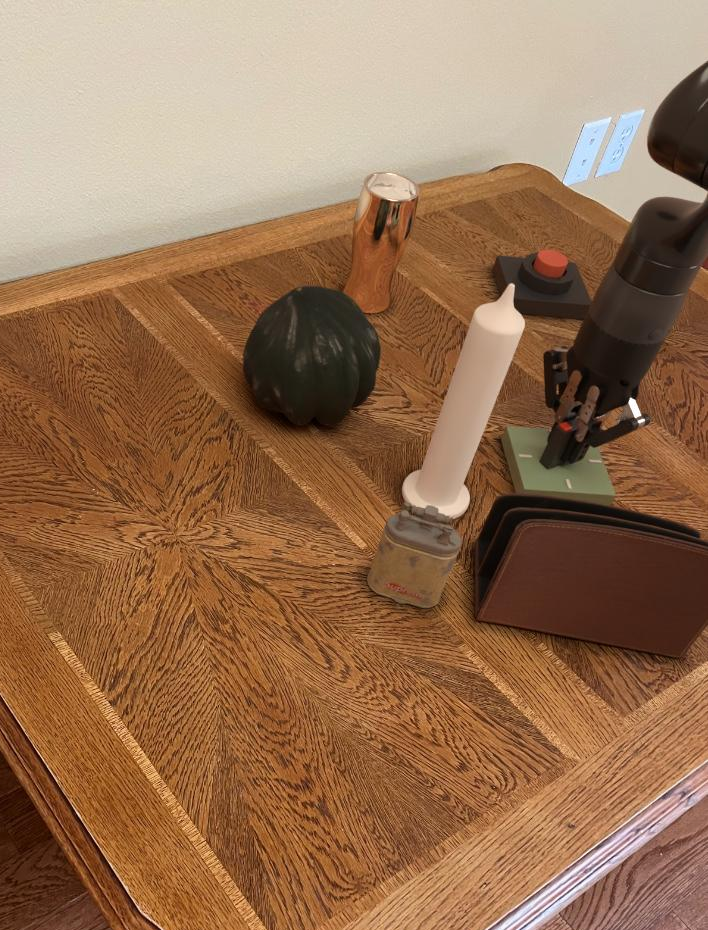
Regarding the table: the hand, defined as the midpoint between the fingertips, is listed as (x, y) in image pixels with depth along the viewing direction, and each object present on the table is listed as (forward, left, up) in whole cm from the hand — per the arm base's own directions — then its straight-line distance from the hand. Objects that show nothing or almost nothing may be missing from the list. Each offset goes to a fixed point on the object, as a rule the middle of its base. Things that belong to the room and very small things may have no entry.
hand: (561, 454), depth 100 cm
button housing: (-6, -35, -3) cm, 36 cm away
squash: (+27, -9, -3) cm, 29 cm away
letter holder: (+2, +18, -3) cm, 19 cm away
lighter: (+19, +18, -3) cm, 26 cm away
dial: (0, 0, -1) cm, 1 cm away
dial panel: (0, 0, -3) cm, 3 cm away
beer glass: (+18, -30, -3) cm, 35 cm away
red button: (-6, -35, +1) cm, 36 cm away
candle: (+14, +5, -3) cm, 15 cm away
